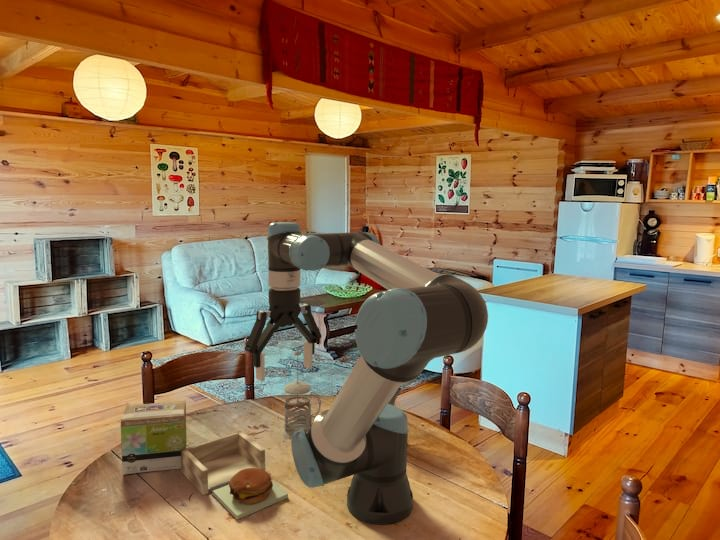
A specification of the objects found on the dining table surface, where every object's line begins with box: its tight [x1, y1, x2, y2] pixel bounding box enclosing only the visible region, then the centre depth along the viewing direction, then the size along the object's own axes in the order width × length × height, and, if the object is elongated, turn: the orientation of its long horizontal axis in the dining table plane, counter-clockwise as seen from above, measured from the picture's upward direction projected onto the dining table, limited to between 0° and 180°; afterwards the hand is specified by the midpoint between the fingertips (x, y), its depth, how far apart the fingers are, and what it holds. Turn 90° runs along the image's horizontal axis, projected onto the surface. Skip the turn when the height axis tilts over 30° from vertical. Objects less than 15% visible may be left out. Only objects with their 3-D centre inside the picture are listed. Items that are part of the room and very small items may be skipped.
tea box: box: [120, 400, 187, 476], centre depth 133 cm, size 15×10×15 cm
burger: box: [229, 468, 273, 504], centre depth 119 cm, size 10×9×5 cm
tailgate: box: [210, 479, 289, 521], centre depth 120 cm, size 13×13×1 cm
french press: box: [280, 350, 322, 440], centre depth 151 cm, size 10×12×25 cm
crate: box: [181, 430, 266, 496], centre depth 130 cm, size 13×16×6 cm
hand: (285, 373), depth 125 cm, fingers open, 13 cm apart
